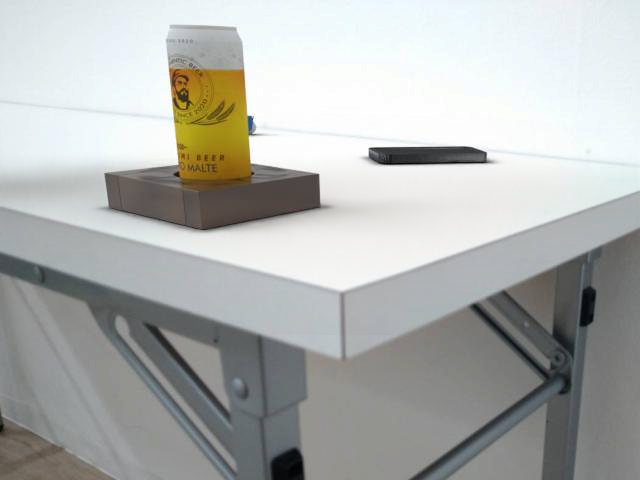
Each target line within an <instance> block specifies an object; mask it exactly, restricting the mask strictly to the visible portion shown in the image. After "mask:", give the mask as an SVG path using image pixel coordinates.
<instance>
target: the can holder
mask: <svg viewBox="0 0 640 480" xmlns="http://www.w3.org/2000/svg"><path fill="white" fill-rule="evenodd" d="M320 180H321V179H320V173H316V172H310V171H303V170H297V169H291V168H284V167H280V166H279V167H277V166H273V165H265V164H258V163H251V176H248V177H242V178H235V179H219V180H199V179H185V178H180V174H179V164H173V165H172V164H171V165H163V166H155V167H146V168H138V169H137V168H136V169H129V170H128V169H127V170H119V171H110V172H104V182H105V190H106V198H107V203H108V208H109V209H110V208H111V209H114V210H119V211H123V212H127V213H132V214H135V215H140V216H144V217H148V218H153V219H155V220H156V219H157V220H161V221H165V222H169V223H173V224H174V223H175V224H178V225H182V226H186V227H191V228H195V229H198V230H207V229H212V228H213V229H214V228H218V227H222V226H223V227H224V226H227V225H233V224H238V223H243V222H248V221H253V220H258V219H265V218H268V217H269V218H270V217H273V216H278V215H284V214H285V215H286V214H289V213H294V212H299V211H300V212H301V211H306V210H311V209H315V208H320V207H321V184H320V183H321V182H320Z"/></svg>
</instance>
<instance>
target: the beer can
mask: <svg viewBox="0 0 640 480" xmlns="http://www.w3.org/2000/svg"><path fill="white" fill-rule="evenodd" d="M165 47H166V56H167V66H168V76H169V83H170V84H169V86H170V94H171V95H170V96H171V105H172V115H173V125H174V134H175V144H176V152H177V153H176V154H177V162H178V164H177V165H179V174H180V178H185V179H199V180H219V179H235V178H242V177H248V176H251V161H252V160H251V147H250V134H249V131H248V116H249V115H248V105H247V88H246V87H247V86H246V75H245V74H246V73H245V62H244V60H245V57H244V45H243V40H242V38H241V37H240V35H239V32H238V29H237V26H228V25H210V24H208V25H207V24H205V25H204V24H169V29H168V33H167V35H166V38H165Z"/></svg>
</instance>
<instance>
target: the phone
mask: <svg viewBox="0 0 640 480" xmlns="http://www.w3.org/2000/svg"><path fill="white" fill-rule="evenodd" d="M368 157H369V158H370V159H372V160H374V161H376V162H377V163H381V164H417V163H419V164H420V163H423V164H426V163H473V162H474V163H475V162H476V163H477V162H487V160H488V151H486V150H481V149H478V148H476V147H473V146H466V145H465V146H463V145H462V146H461V145H459V146H452V145H451V146H449V145H448V146H447V145H446V146H372V147H371V146H370V147H368Z"/></svg>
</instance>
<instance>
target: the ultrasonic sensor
mask: <svg viewBox="0 0 640 480" xmlns="http://www.w3.org/2000/svg"><path fill="white" fill-rule="evenodd" d="M247 116H248V131H249V135H252V134H254V133H255V132H256V130H257V125H256V123H255V122H254V119H255V118H254V115H247Z"/></svg>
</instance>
